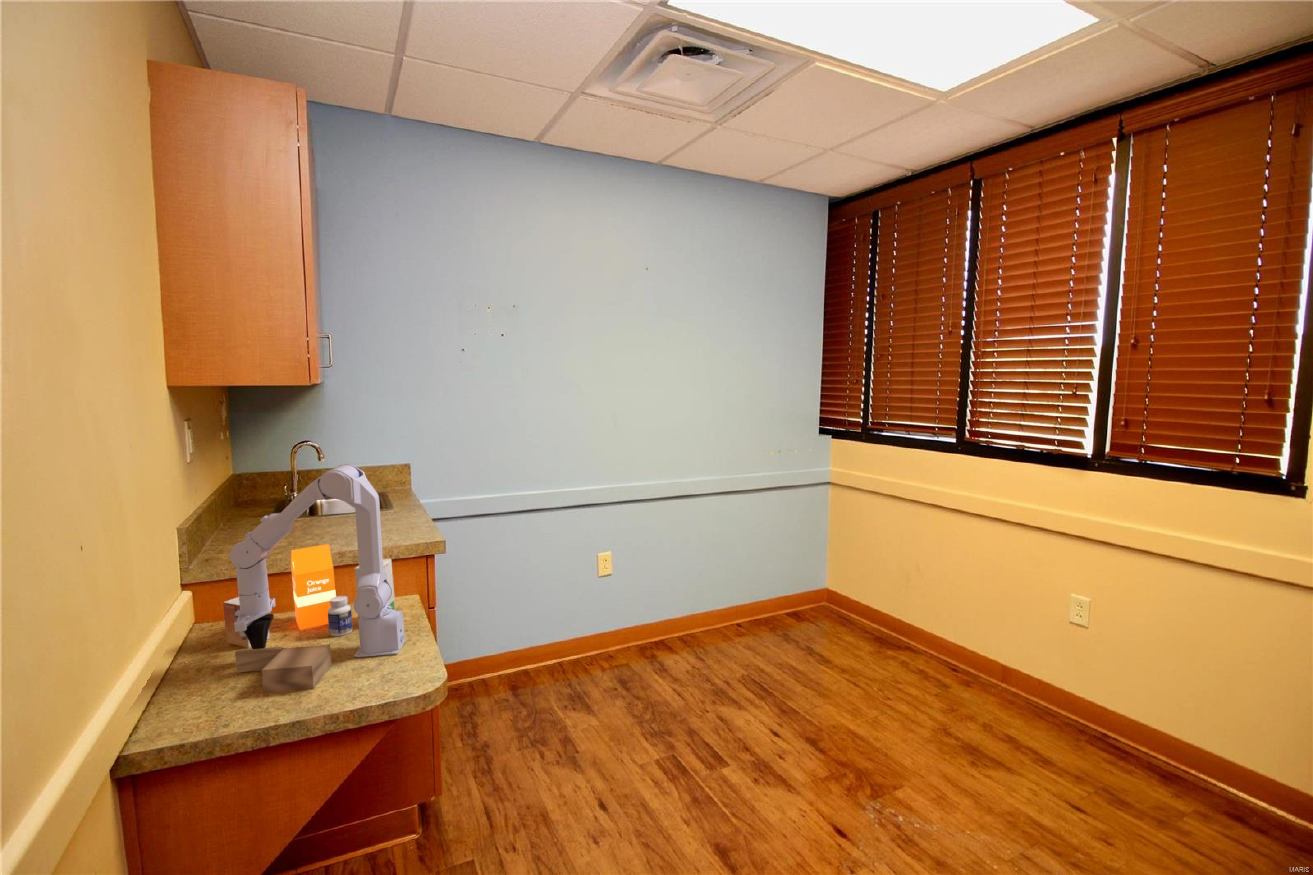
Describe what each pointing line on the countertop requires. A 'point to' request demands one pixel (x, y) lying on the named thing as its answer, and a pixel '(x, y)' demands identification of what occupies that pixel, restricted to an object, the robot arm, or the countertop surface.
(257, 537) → the robot arm
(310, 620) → the orange juice
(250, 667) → the door
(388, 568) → the skincare box
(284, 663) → the cabinet
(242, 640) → the small box
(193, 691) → the countertop surface
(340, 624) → the pill bottle
